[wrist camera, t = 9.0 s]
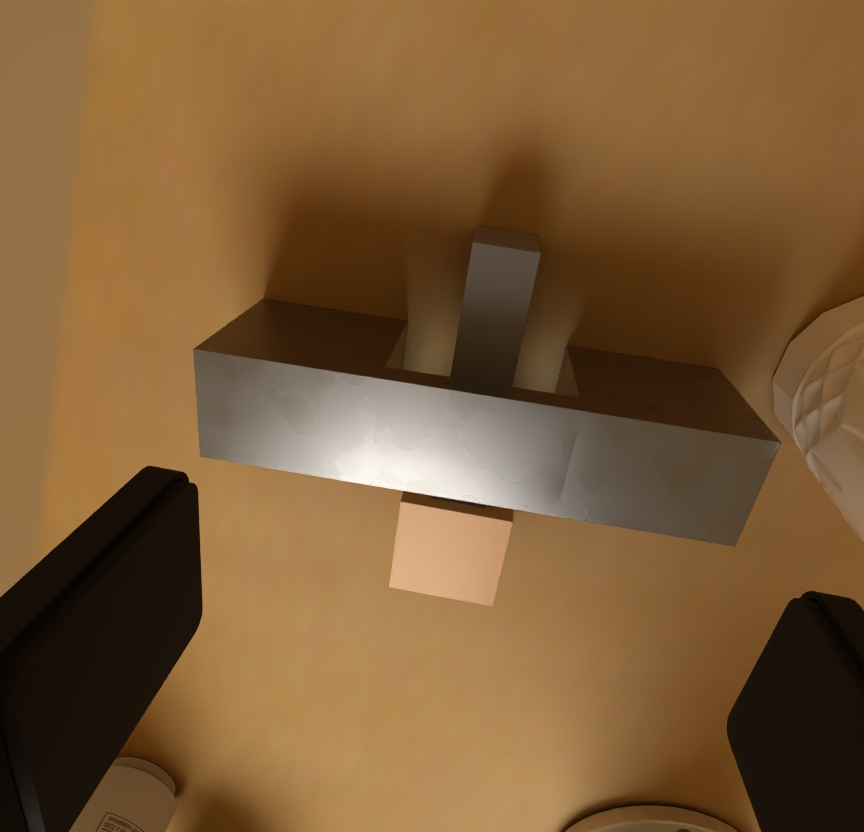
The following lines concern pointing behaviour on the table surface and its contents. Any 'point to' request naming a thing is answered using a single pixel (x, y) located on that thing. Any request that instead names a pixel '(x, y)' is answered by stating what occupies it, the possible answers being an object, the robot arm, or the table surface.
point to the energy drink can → (129, 799)
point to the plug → (483, 362)
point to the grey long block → (483, 425)
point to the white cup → (828, 404)
